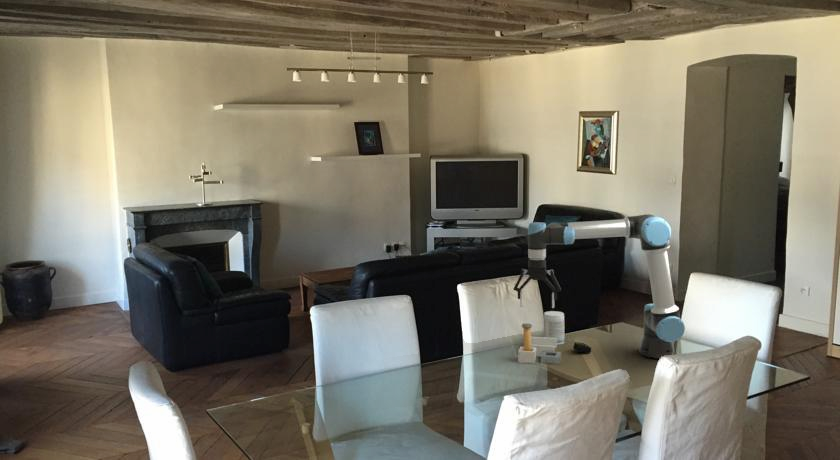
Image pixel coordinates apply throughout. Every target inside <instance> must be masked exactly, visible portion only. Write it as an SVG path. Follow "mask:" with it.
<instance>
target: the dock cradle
mask: <svg viewBox="0 0 840 460" xmlns="http://www.w3.org/2000/svg"><path fill="white" fill-rule="evenodd" d="M531 347H534V348H536V357H541V354H542V351H553V352H556V351H555V349H556V348H558V344H557V338H549V337H544V336H532V335H531Z"/></svg>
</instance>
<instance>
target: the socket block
mask: <svg viewBox="0 0 840 460" xmlns="http://www.w3.org/2000/svg"><path fill="white" fill-rule="evenodd" d="M517 352H518V353H517V354H518V355H517V357H518V358H517V362H518V363H522V364H535V363H536V361H537V356H536V348H534V347H531V351H524V346H520V347H519V348H518V351H517Z"/></svg>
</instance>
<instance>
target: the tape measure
mask: <svg viewBox="0 0 840 460" xmlns="http://www.w3.org/2000/svg"><path fill="white" fill-rule="evenodd" d="M573 350H574V351H576V352H579V353H581V354H590V353H592V347H591V346H589V345H588V344H586V343H584V342H580V341H576V342H574V344H573Z"/></svg>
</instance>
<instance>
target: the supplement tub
mask: <svg viewBox="0 0 840 460" xmlns="http://www.w3.org/2000/svg"><path fill="white" fill-rule="evenodd" d="M543 337H549V338H557V345H563V344H564V343H565V313H564V312H562V311H557V310H556V311H555V310H550V311H545V312H543Z"/></svg>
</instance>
